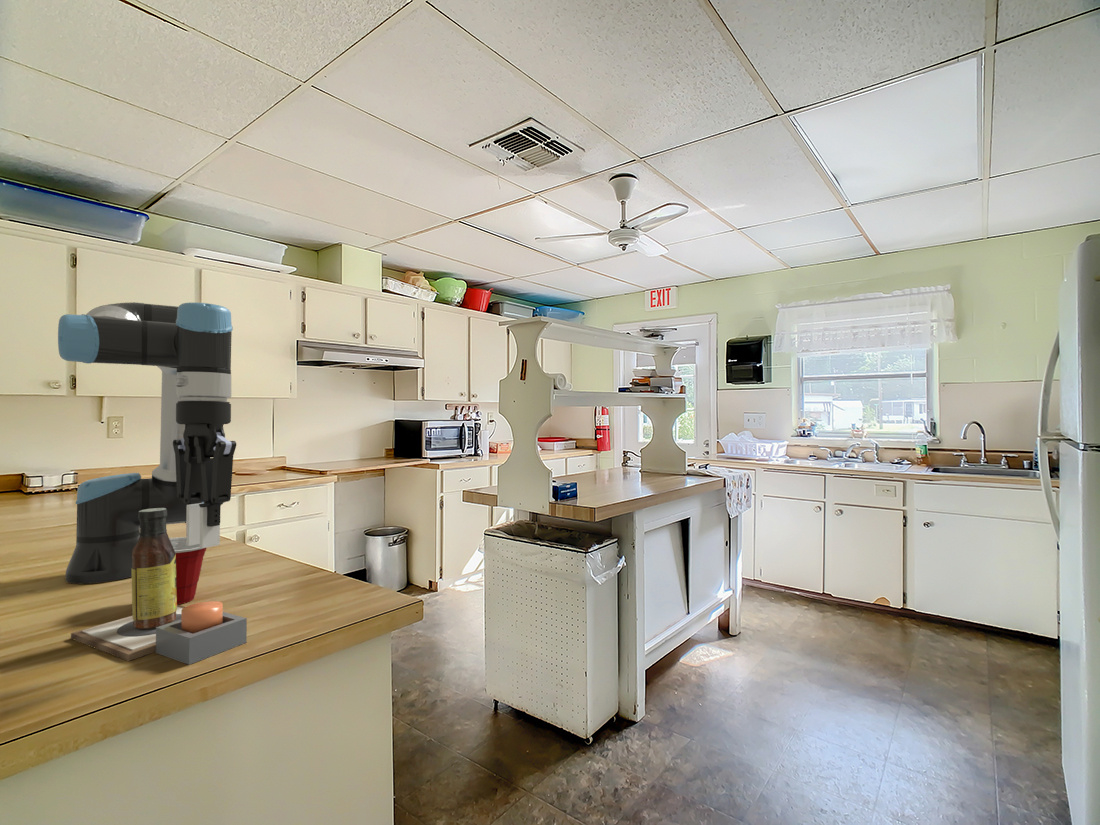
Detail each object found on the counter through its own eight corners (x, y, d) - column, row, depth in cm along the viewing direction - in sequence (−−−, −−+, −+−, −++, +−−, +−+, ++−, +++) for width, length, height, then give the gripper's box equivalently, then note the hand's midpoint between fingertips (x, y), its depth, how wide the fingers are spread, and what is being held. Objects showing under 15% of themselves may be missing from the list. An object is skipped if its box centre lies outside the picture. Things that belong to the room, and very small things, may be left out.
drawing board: (70, 638, 90) (70, 631, 90) (173, 608, 104) (173, 602, 104) (128, 661, 82) (128, 652, 82) (231, 625, 96) (231, 617, 96)
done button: (173, 631, 86) (173, 609, 86) (209, 620, 91) (209, 599, 91) (194, 638, 83) (194, 615, 83) (230, 625, 88) (230, 604, 88)
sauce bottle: (185, 620, 95) (186, 507, 95) (148, 633, 89) (149, 513, 89) (159, 615, 97) (160, 505, 97) (121, 628, 91) (123, 511, 92)
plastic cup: (177, 612, 102) (177, 549, 103) (130, 608, 105) (131, 546, 105) (222, 594, 113) (223, 537, 113) (179, 590, 115) (179, 534, 115)
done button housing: (155, 652, 85) (155, 627, 85) (213, 632, 93) (213, 609, 93) (189, 664, 81) (189, 638, 81) (246, 642, 89) (246, 618, 89)
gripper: (151, 400, 88) (149, 544, 87) (210, 398, 80) (209, 556, 80) (198, 401, 94) (197, 535, 94) (257, 400, 87) (256, 545, 87)
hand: (202, 544), depth 87 cm, fingers open, 3 cm apart
